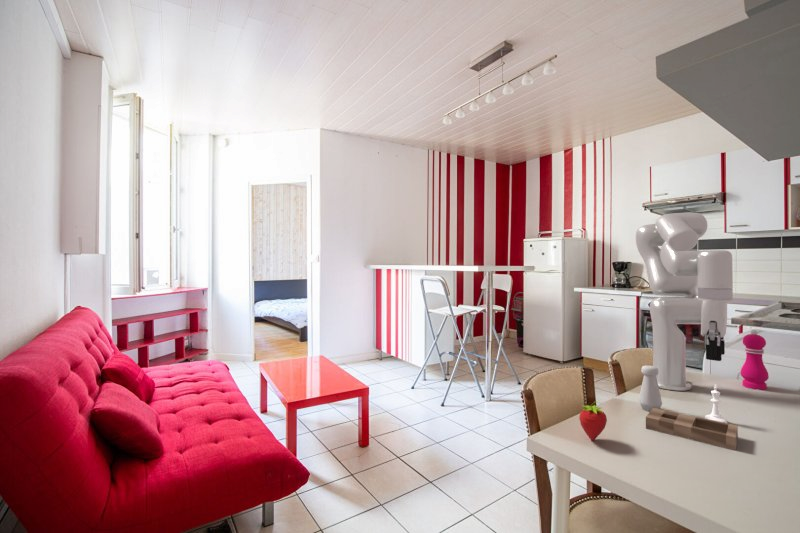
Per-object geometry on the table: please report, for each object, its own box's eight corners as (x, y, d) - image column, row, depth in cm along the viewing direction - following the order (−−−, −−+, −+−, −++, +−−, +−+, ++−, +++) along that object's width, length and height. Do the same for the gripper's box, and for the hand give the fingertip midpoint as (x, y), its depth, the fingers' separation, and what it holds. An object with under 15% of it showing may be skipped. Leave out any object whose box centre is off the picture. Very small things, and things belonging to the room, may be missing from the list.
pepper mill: (754, 383, 138) (753, 328, 138) (774, 390, 131) (774, 331, 131) (735, 384, 138) (734, 328, 138) (754, 390, 130) (754, 332, 130)
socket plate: (653, 418, 109) (653, 407, 109) (737, 437, 96) (737, 425, 96) (645, 428, 102) (645, 417, 102) (735, 450, 90) (735, 437, 90)
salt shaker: (655, 406, 118) (654, 363, 118) (666, 413, 112) (665, 369, 112) (635, 405, 118) (634, 363, 118) (645, 413, 113) (644, 368, 112)
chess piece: (702, 420, 107) (702, 384, 107) (706, 415, 110) (706, 380, 110) (725, 426, 103) (725, 388, 103) (729, 421, 106) (728, 384, 106)
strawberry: (611, 439, 96) (611, 399, 96) (599, 449, 91) (599, 407, 91) (587, 431, 101) (586, 393, 101) (574, 441, 96) (574, 400, 96)
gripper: (701, 292, 115) (702, 349, 115) (693, 296, 103) (694, 360, 103) (734, 293, 110) (735, 353, 110) (730, 297, 97) (731, 365, 97)
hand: (715, 356), depth 106 cm, fingers open, 9 cm apart
